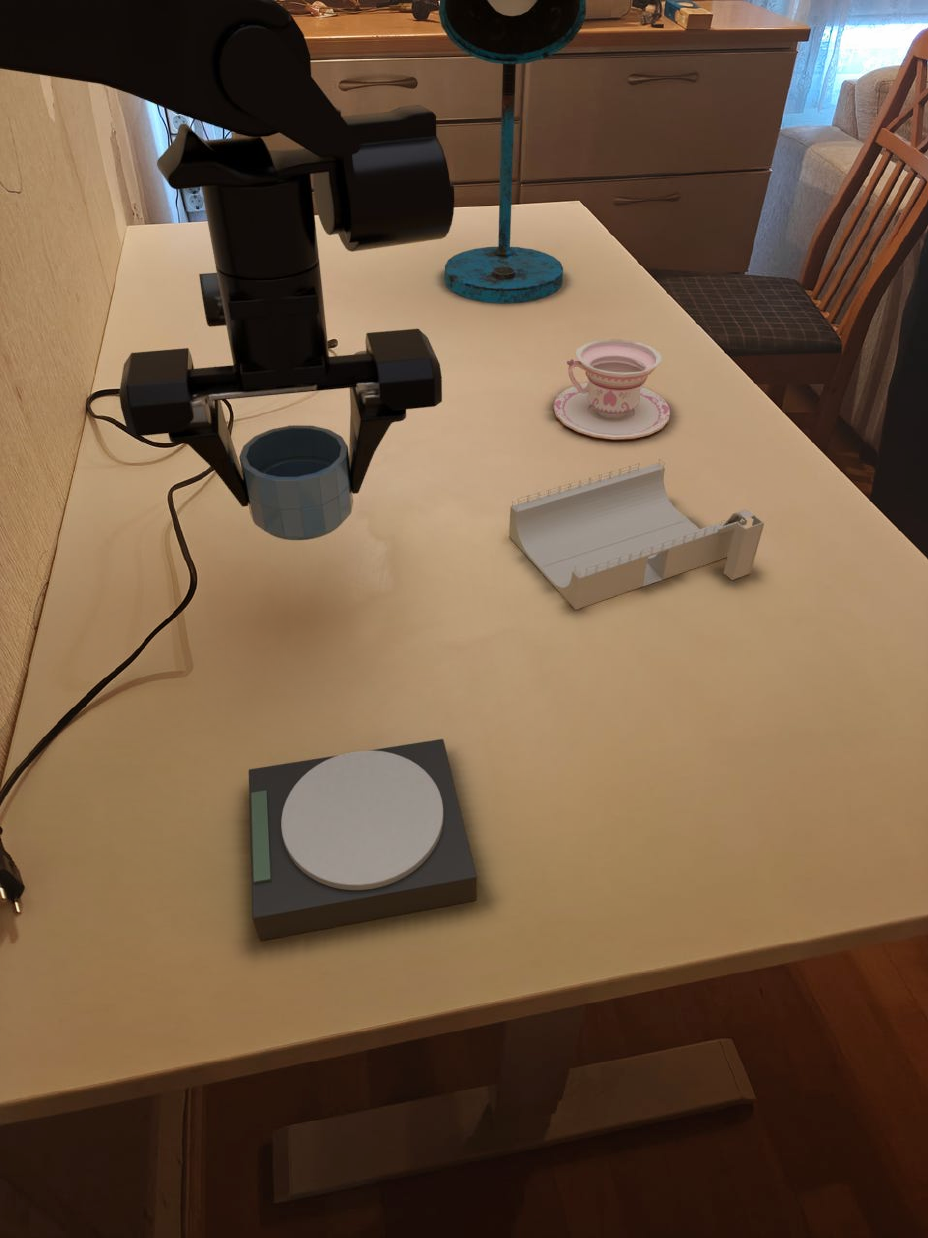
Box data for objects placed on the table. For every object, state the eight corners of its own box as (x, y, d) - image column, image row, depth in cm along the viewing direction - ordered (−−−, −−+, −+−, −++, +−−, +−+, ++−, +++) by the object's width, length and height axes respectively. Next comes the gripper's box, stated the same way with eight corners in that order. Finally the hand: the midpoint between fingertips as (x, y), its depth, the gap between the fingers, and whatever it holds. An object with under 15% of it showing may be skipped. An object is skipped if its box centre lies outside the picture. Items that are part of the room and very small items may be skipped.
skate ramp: (653, 492, 79) (661, 443, 76) (750, 574, 70) (764, 522, 67) (509, 536, 74) (511, 486, 71) (594, 630, 65) (601, 577, 62)
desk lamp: (438, 318, 108) (429, -169, 78) (447, 255, 125) (442, -167, 95) (567, 319, 108) (607, -169, 78) (559, 257, 124) (590, -167, 94)
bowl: (232, 530, 58) (218, 466, 55) (285, 479, 63) (276, 417, 60) (322, 554, 57) (313, 489, 53) (370, 499, 61) (365, 437, 58)
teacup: (664, 387, 94) (673, 333, 90) (674, 444, 86) (685, 386, 81) (553, 383, 95) (557, 328, 91) (552, 439, 86) (557, 381, 82)
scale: (259, 941, 47) (250, 912, 45) (254, 793, 54) (246, 762, 52) (476, 900, 49) (477, 871, 47) (443, 762, 56) (443, 731, 54)
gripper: (408, 207, 56) (415, 424, 66) (105, 226, 53) (163, 450, 63) (442, 268, 48) (444, 505, 58) (87, 295, 45) (156, 540, 55)
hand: (300, 496), depth 59 cm, fingers closed on bowl, 7 cm apart
